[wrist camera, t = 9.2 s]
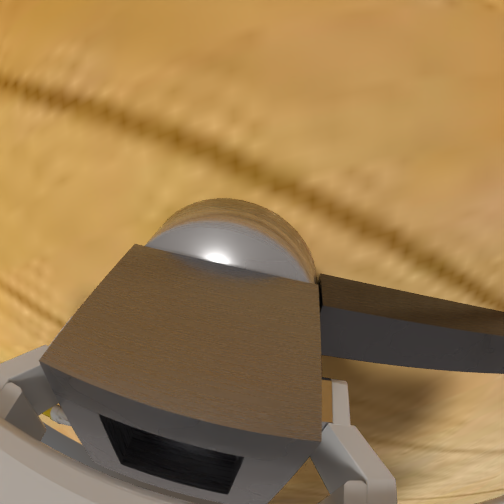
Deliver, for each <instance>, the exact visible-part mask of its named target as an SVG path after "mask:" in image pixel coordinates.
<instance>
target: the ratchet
mask: <svg viewBox="0 0 504 504" xmlns="http://www.w3.org/2000/svg"><path fill="white" fill-rule="evenodd" d="M145 246H146V247H150V248H155V249H159V250H163V251H168V252H172V253H176V254H181V255H185V256H189V257H194V258H198V259H202V260H207V261H211V262H216V263H220V264H225V265H229V266H234V267H238V268H243V269H247V270H252V271H256V272H261V273H266V274H270V275H275V276H279V277H284V278H289V279H293V280H298V281H303V282H307V283H312V284H316V274H315V266H314V262H313V258H312V256H311V253H310V251H309V249H308V247H307V245H306V243H305V242H304V240H303V239H302V237H301V236H300V235H299V233H298V232H297V231H296V230H295V229H294V228H293V227H292V226H291V225H290V224H289V223H288V222H287V221H285V220H284V219H283V218H281V217H280V216H279V215H277V214H275V213H274V212H272V211H270V210H268V209H266V208H264V207H262V206H259V205H257V204H254V203H250V202H247V201H243V200H236V199H219V198H217V199H209V200H204V201H200V202H196V203H193V204H191V205H188V206H186V207H184V208H182V209H181V210H179V211H177V212H176V213H174V214H173V215H172V216H171V217H170V218H169V219H167V221H166V222H165V223H164V224H163V225H162V226H161V227H160V229H159V230H158V231H157V232H156V233H155V234H154V236H153V237H152V238H151V239H150V240H149V241H148V243H147V244H146V245H145ZM317 285H318V288H319V308H320V332H321V355H326V356H332V357H339V358H345V359H352V360H358V361H365V362H373V363H380V364H388V365H397V366H405V367H415V368H424V369H435V370H447V371H461V372H477V373H499V374H504V312H501V311H496V310H491V309H486V308H482V307H477V306H472V305H467V304H462V303H457V302H453V301H448V300H443V299H438V298H433V297H428V296H424V295H419V294H414V293H409V292H405V291H400V290H395V289H390V288H386V287H381V286H376V285H371V284H367V283H362V282H357V281H353V280H348V279H343V278H339V277H334V276H329V275H325V274H320V277H319V280H318V283H317Z"/></svg>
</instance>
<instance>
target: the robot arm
mask: <svg viewBox="0 0 504 504" xmlns="http://www.w3.org/2000/svg"><path fill="white" fill-rule="evenodd" d="M72 317H73V316H72ZM72 317H71V318H72ZM71 318H70V319H71ZM70 319H69V320H70ZM68 322H69V321H68ZM68 322H67V323H68ZM67 323H66V324H67ZM66 324H65V325H66ZM64 327H65V326H64ZM64 327H63V328H64ZM63 328H62V329H63ZM61 331H62V330H61ZM61 331H60V332H61ZM60 332H59V333H60ZM59 333H58V334H59ZM57 336H58V335H57ZM57 336H56V337H57ZM56 337H55V338H56ZM54 340H55V339H54ZM54 340H53V341H54ZM53 341H52V342H53ZM52 342H51V344H52ZM51 344H50V345H51ZM50 345H49V346H50ZM49 346H47V345H43V346H41V347H39V348H36V349H34V350H32V351H29V352H27V353H25V354H22V355H20V356H17V357H15V358H13V359H10V360H8V361H6V362H3V363H1V364H0V504H197V503H193V502H189V501H185V500H181V499H178V498H174V497H171V496H167V495H164V494H161V493H157V492H154V491H151V490H148V489H145V488H142V487H139V486H136V485H133V484H131V483H128V482H125V481H123V480H120V479H118V478H115V477H113V476H110V475H108V474H105V473H103V472H100V471H98V470H96V469H94V468H91V467H89V466H87V465H85V464H83V463H80V462H78V461H76V460H74V459H72V458H70V457H68V456H66V455H64V454H62V453H60V452H58V451H56V450H54V449H53V448H51V447H49V446H47V445H45V444H43V443H42V442H40V441H41V439H42V437H43V435H44V433H45V432H46V428H45V425H44V424H43V422H42V421H41V419H40V418H39V416H38V415H40V414H42V413H43V412H45V411H46V410H48V409H50V408H51V407H53V406H54V405H56V404H58V403H59V402H58V400H57V398H56V396H55V394H54V392H53V390H52V388H51V386H50V384H49V382H48V380H47V378H46V376H45V374H44V371H43V369H42V367H41V365H40V362H39V360H40V358H41V357H42V356H43V354H44V353H45V351H46V350H47V349H48V347H49ZM310 457H311V459H312V461H313V463H314V465H315V467H316V469H317V471H318V473H319V475H320V476H321V478H322V480H323V482H324V484H325V486H326V488H327V489H328V491H329V493H330V495H329V496H327V497H326V498H325V499H323V500H322V501H321V502H319V503H318V504H397V491H396V479H395V478H394V477H393V475H392V474H391V473H390V471H389V470H388V469H387V467H386V466H385V465H384V463H383V462H382V461H381V459H380V458H379V457H378V456H377V454H376V453H375V452H374V450H373V449H372V448H371V446H370V445H369V444H368V442H367V441H366V440H365V438H364V437H363V436H362V434H361V433H360V432H359V430H358V429H357V428H356V426H353V425H351V422H350V407H349V394H348V384H347V382H346V381H343V380H336V379H329V378H324V377H322V441H321V443H320V444H319V446H318V447H317V448H316V449H315V451H314V452H313V453H312V454H311V455H310ZM475 504H504V495H503V496H500V497H497V498H493V499H490V500H487V501H483V502H479V503H475Z"/></svg>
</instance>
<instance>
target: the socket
mask: <svg viewBox="0 0 504 504" xmlns="http://www.w3.org/2000/svg"><path fill="white" fill-rule="evenodd" d="M39 362H40V365H41V367H42V369H43V371H44V374H45V376H46V378H47V380H48V382H49V384H50V386H51V388H52V390H53V392H54V394H55V396H56V398H57V400H58V402H59V404H60V406H61V408H62V410H63V412H64V414H65V415H66V417H67V419H68V421H69V423H70V424H71V426H72V428H73V430H74V431H75V433H76V435H77V436H78V438H79V440H80V441H81V443H82V445H83V446H84V448H85V449H86V451H87V452H88V454H89V455H90V457H91V459H92V460H93V462H94V463H96V464H98V465H100V466H103V467H105V468H108V469H110V470H112V471H115V472H118V473H120V474H123V475H125V476H128V477H131V478H134V479H136V480H139V481H142V482H145V483H148V484H151V485H154V486H157V487H160V488H164V489H168V490H170V491H174V492H178V493H181V494H185V495H189V496H193V497H197V498H201V499H205V500H210V501H214V502H219V503H224V504H267V503H268V502H269V501H270V500H271V499H272V498H273V497H274V496H275V495H276V494H277V493H278V492H279V491H280V490H281V489H282V488H283V486H284V485H285V484H286V483H287V482H288V481H289V480H290V479H291V478H292V476H293V475H294V474H295V473H296V472H297V471H298V470H299V468H300V467H301V466H302V465H303V464H304V463H305V461H306V460H307V459H308V458H309V457H310V455H311V454H312V453H313V452H314V451H315V449H316V448H317V447H318V446H319V444H320V443H321V441H322V369H321V332H320V308H319V288H318V285H317V284H312V283H307V282H303V281H298V280H293V279H289V278H284V277H279V276H275V275H270V274H266V273H261V272H256V271H252V270H247V269H243V268H238V267H234V266H229V265H225V264H220V263H216V262H211V261H207V260H202V259H198V258H194V257H189V256H185V255H181V254H176V253H172V252H168V251H163V250H159V249H155V248H150V247H146V246H142V245H138V244H134V246H133V247H132V248H131V249H130V250H129V251H128V252H127V253H126V254H125V255H124V257H123V258H122V259H121V260H120V261H119V262H118V263H117V264H116V266H115V267H114V268H113V269H112V270H111V271H110V272H109V274H108V275H107V276H106V277H105V278H104V279H103V280H102V282H101V283H100V284H99V285H98V286H97V288H96V289H95V290H94V291H93V292H92V293H91V295H90V296H89V297H88V298H87V299H86V301H85V302H84V303H83V304H82V306H81V307H80V308H79V309H78V310H77V312H76V313H75V314H74V315H73V317H72V318H71V319H70V320H69V322H68V323H67V324H66V325H65V327H64V328H63V329H62V331H61V332H60V333H59V334H58V336H57V337H56V338H55V340H54V341H53V342H52V344H51V345H50V346H49V347H48V349H47V350H46V351H45V353H44V354H43V356H42V357H41V358H40V360H39Z"/></svg>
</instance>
